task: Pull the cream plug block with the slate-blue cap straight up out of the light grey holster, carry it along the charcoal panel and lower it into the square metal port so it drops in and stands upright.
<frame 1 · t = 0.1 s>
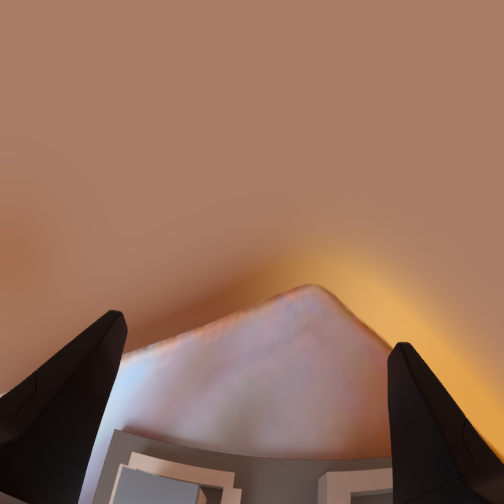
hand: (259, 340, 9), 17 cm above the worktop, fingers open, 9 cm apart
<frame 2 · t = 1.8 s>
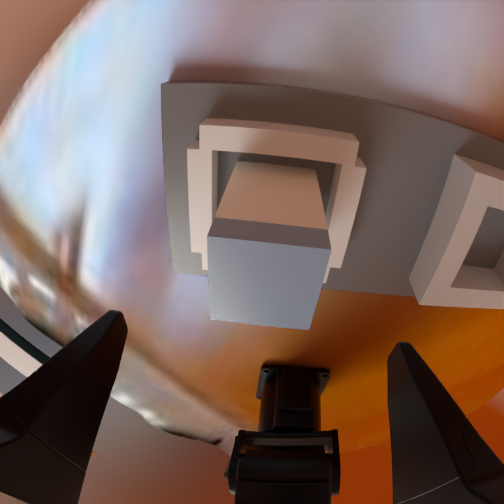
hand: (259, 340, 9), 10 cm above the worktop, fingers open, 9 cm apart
plug: (272, 199, 17), point 1 cm above the worktop, touching panel
external hard drive: (36, 357, 37), on the worktop
panel: (389, 207, 17), on the worktop
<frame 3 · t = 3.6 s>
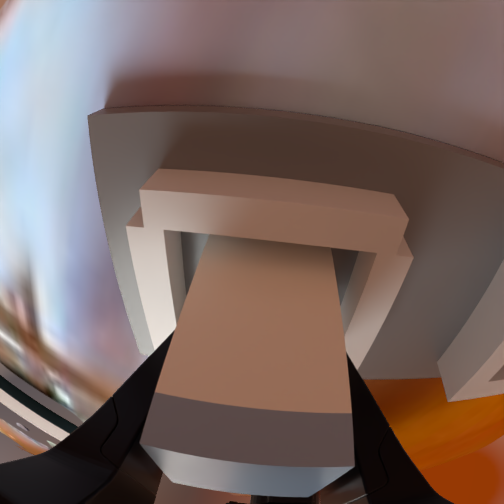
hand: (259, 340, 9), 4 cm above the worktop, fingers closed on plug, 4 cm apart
plug: (264, 285, 11), point 1 cm above the worktop, touching gripper, panel
external hard drive: (18, 393, 31), on the worktop
panel: (427, 284, 12), on the worktop
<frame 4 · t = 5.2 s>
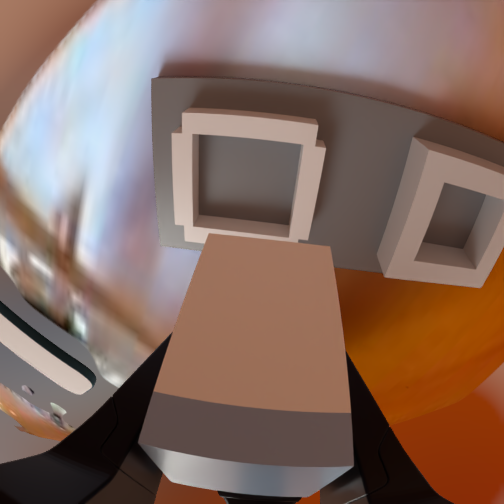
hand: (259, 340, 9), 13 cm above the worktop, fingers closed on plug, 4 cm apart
plug: (264, 285, 11), point 10 cm above the worktop, touching gripper
external hard drive: (32, 339, 39), on the worktop
panel: (355, 186, 19), on the worktop
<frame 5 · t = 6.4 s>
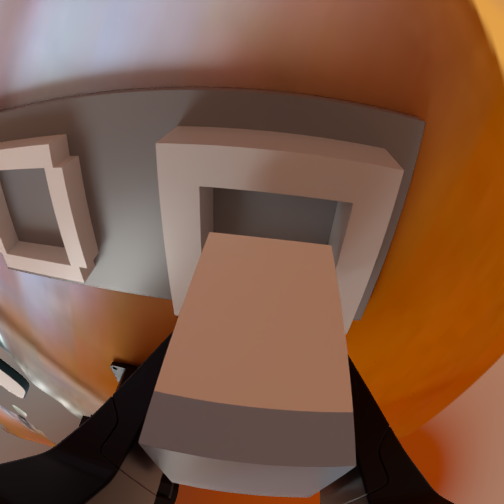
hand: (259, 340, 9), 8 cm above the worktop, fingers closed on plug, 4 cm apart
plug: (265, 284, 11), point 5 cm above the worktop, touching gripper
panel: (140, 201, 16), on the worktop
when the fingers open (5 cm above the worktop, at t = 7.2 s): plug drops 1 cm, resting on panel.
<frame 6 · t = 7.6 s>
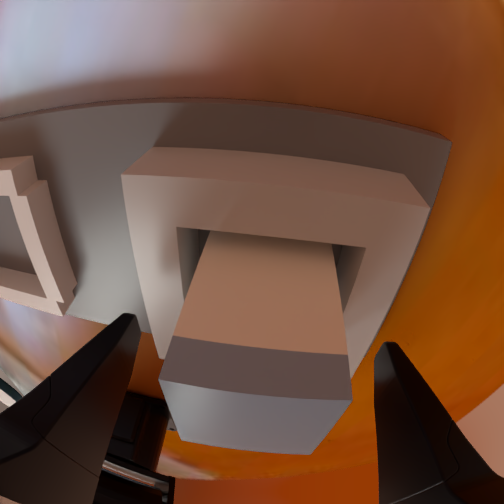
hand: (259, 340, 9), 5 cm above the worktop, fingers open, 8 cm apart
plug: (267, 259, 13), point 1 cm above the worktop, touching panel
panel: (118, 230, 14), on the worktop
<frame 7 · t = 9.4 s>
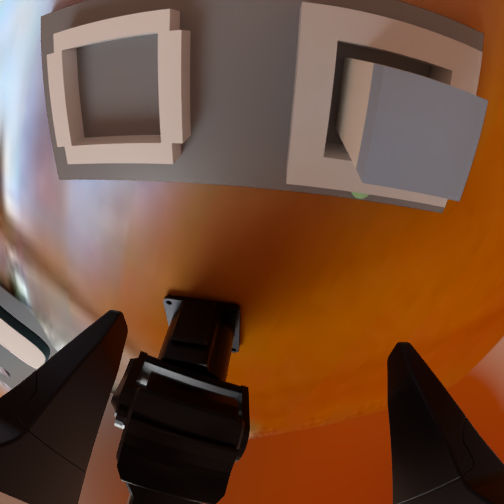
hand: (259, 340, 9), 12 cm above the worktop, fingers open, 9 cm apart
plug: (376, 99, 14), point 1 cm above the worktop, touching panel
panel: (245, 82, 15), on the worktop
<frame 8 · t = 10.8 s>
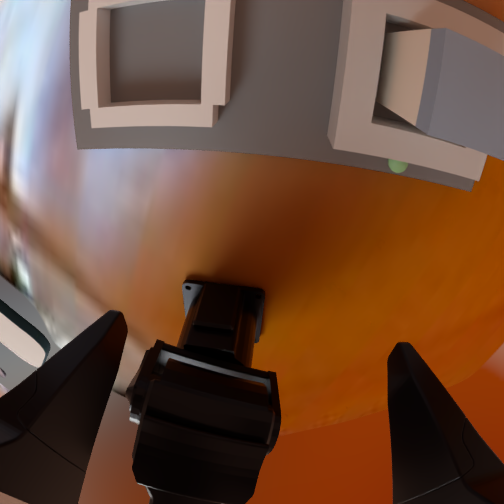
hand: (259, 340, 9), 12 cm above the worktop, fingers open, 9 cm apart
plug: (414, 76, 13), point 1 cm above the worktop, touching panel
panel: (287, 51, 14), on the worktop
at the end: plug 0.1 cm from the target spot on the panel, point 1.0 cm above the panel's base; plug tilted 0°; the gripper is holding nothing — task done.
